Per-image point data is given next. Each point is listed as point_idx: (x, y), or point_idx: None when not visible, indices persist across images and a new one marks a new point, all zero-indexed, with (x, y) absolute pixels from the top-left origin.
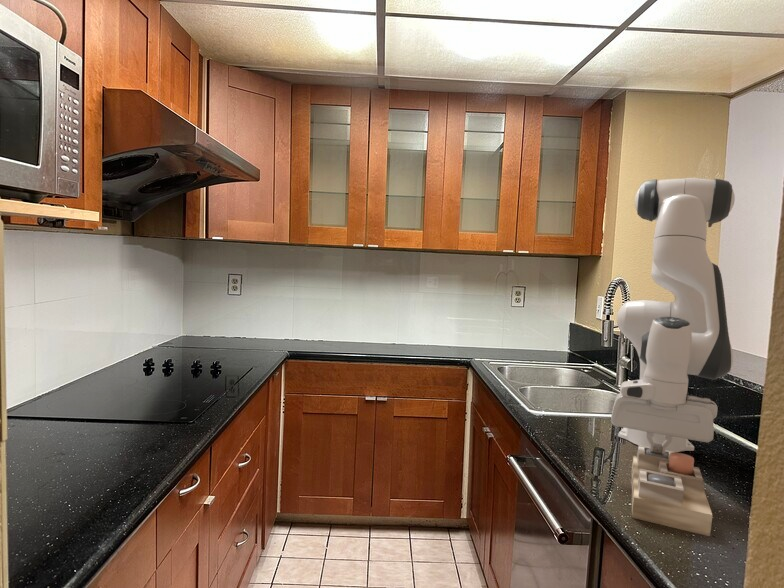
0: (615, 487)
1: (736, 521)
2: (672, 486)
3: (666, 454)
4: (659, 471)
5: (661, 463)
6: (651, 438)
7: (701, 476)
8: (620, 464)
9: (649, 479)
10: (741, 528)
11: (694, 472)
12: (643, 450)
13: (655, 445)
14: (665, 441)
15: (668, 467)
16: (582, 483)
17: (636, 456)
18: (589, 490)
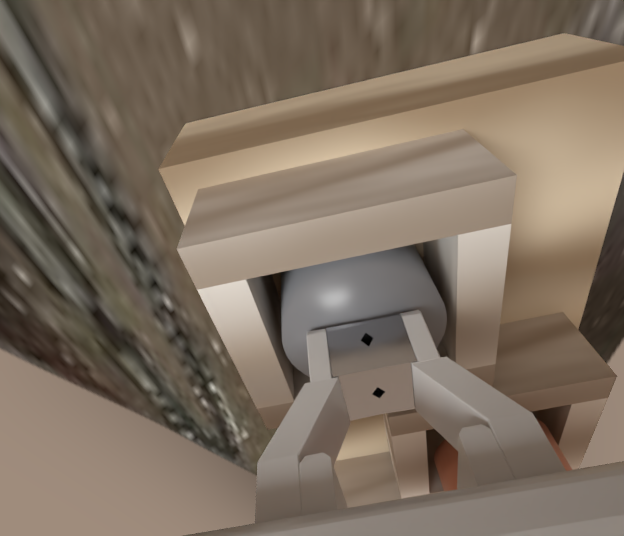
0: (212, 353)
1: (620, 320)
2: None
3: (434, 317)
4: (387, 427)
5: (401, 447)
6: (321, 445)
7: (581, 457)
8: (53, 6)
9: None
10: (614, 352)
11: (560, 440)
12: (263, 346)
13: (360, 414)
14: (454, 421)
15: (435, 463)
16: (112, 397)
17: (184, 168)
18: (162, 421)
